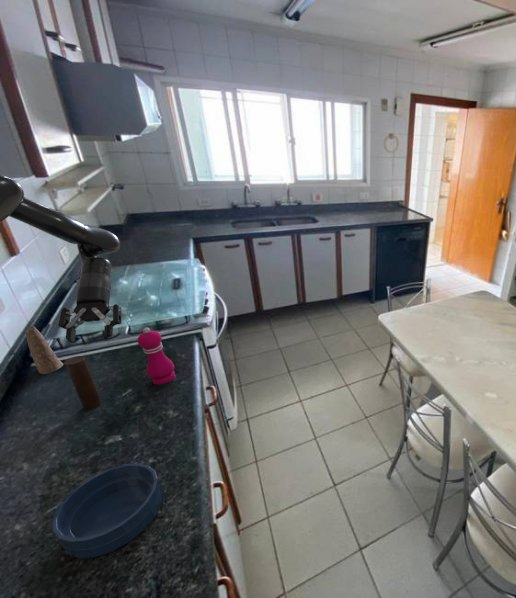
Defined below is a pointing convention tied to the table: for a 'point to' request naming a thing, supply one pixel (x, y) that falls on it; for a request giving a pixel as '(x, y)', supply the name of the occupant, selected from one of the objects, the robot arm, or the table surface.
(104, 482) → the bowl
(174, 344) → the table surface
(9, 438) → the table surface
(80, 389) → the brown cylinder
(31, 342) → the tan tapered cone
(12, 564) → the table surface
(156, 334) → the pepper mill
